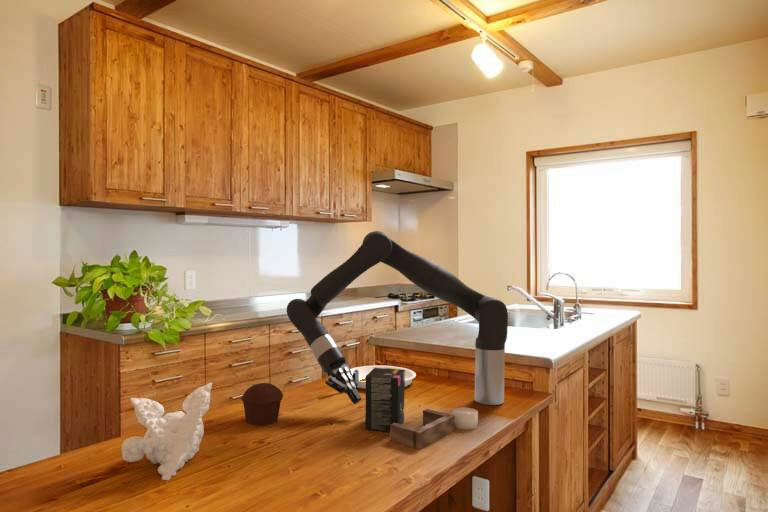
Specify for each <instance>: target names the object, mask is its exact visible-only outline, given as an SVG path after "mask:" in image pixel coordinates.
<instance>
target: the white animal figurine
mask: <svg viewBox="0 0 768 512" xmlns="http://www.w3.org/2000/svg"><path fill="white" fill-rule="evenodd" d="M212 386H213V382H208V383H207V384H205V385H202V386H200V387H197V388H196V389H193V391H192V392H191V393H189V395H187V396H186V397H185V399H184V400H183V403H182V409H183V411H182V410H177V411H175V412H167V413H166V414H165V408H164V406H163V405H162V403H159V402H158V401H156V400H153V399H150V398H146V397H145V398H144V397H140V398H138V397H131V398H129V400H130V402H131V404H132V405H133V408H134V413H135V416H136V418H137V422H138V423H139V424H140V425H142V426H144V427H145V428H146V432H145V434H144V436H143V437H142V436H138V435H136V436H130V437H129V438H126V439H125V440H123V441H122V444H121V455H122V460H124V461H126V462H129V463H134V462H139V461H140V460H141V459H143V458H144V457H145V456H146V458H147V460H148V461H149V462H150V463H151V464H154V465H157V464H159V465H160V466H158V468H157V472H158V474H160V475H161V480H162V481H170V480H171V479H172V477H174V476H176V475H177V471H178V470H180V469H182V468H183V466H184V465H185V464H186V463H187V462H189V460H192V459H193V458H194V457H195V455H196V454H197V453H198V452H199V451H200V445H201V443H202V441H203V439H202V438H203V437H204V434H205V432H204V429H205V428H204V427H205V426H204V423H203V419H202V418H203V416H204V415H205V414H207V412H208V411H209V410H210V402H211V391H212ZM185 412H186V413H185ZM162 416H163V417H162Z"/></svg>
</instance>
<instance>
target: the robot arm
mask: <svg viewBox="0 0 768 512" xmlns="http://www.w3.org/2000/svg"><path fill="white" fill-rule="evenodd" d="M379 263H382V264H385V265H386V266H388V267H391V268H392V269H394V270H396V271H397V272H399V273H400V274H401V275H402V276H404V278H406V279H407V280H409V281H410V282H411V283H413V285H415V286H417V287H418V288H420V289H421V290H423V291H424V292H427V293H428V294H430V295H432V296H434V297H436V298H438V299H440V300H442V301H444V302H446V303H448V304H451V305H453V306H456V307H457V308H459V309H460V310H462V311H464V312H465V313H466V314H468V315H469V316H471V317H472V318H473V319H475V320H476V321H477V322H478V335H477V337H476V338H475V342H474V343H475V347H474V351H475V353H474V354H475V355H474V357H475V358H474V362H475V363H474V401H475V403H478V404H480V405H485V406H499V405H502V404H504V403H505V354H506V351H505V349H506V346H505V345H506V341H507V339H508V328H509V327H508V323H509V314H508V307H507V306H506V304H505V303H504V302H503V301H502V300H501V299H498V298H494V297H492V296H489V295H486V294H483V293H481V292H479V291H478V290H475V289H472V287H469V286H468V285H467V284H465V283H464V282H463V281H462V280H461V279H460V278H458V277H457V276H456V275H454V274H453V273H452V272H450V271H449V270H447V269H445V268H444V267H442V266H440V265H439V264H437V263H435V262H433V261H432V260H429V258H428V259H427V258H426V257H423V256H421V255H419V254H416V253H415V252H413V251H410V250H408V249H406V248H405V247H403V246H402V245H400V244H399V243H398V242H396V241H395V240H393V239H392V238H391V237H390V236H388V234H386V232H383V231H379V230H374V231H371V232H369V233H367V234H366V235H365V236H364V237H363V240H362V243H361V245H360V246H359V247H358V248H357V250H355V252H354V253H353V254H352V255H351V256H350V257H349V258H348V259H346V260H345V261H344V262H343V263H342V264H341V265H339V266H337V267H336V268H335V269H333V270H332V271H330V272H329V273H328V274H326V275H325V276H324V277H322V279H321V280H319V281H318V282H317V283H316V284H315V285H314V286H313V287H312V288H311V290H310V296H309V297H308V298H307V300H304V299H301V298H295V299H291V300H290V301H289V302H288V303H287V306H286V314H287V317H288V319H289V321H290V322H291V324H292V325H293V326H294V328H296V330H297V331H298V332H299V333H300V334H301V335H302V336H303V338H304V340H305V341H306V344H307V345H308V346H309V348H310V350H311V352H312V355H313V356H314V358H315V359H316V361H317V364H318V365H319V366H320V368H321V369H322V371H323V372H324V374H326V375H327V379H326V380H325V385H326V386H328V387H330V388H332V389H334V390H335V391H336V392H338V393H340V394H343V393H344V394H346V395H347V396H348V398H349V400H350V401H351V402H352V403H353V404H354V405H356V404H359V402H361V401H362V396H361V395H360V393H359V391H358V390H357V388H356V387H357V386H358V385H359V371H358V370H357V369H356V370H355V371H354V370H351V369H352V368H351V367H350V366H349V365H348V364H347V361H346V360H347V357H345V354H344V353H343V351H342V349H340V347H339V346H338V344H337V342H336V340H335V339H334V338H333V337H332V336H331V335H330V333H329V332H328V330H327V328H326V327H325V326H324V325H323V323H322V322H321V321H320V320H318V319H317V318H318V317H319V316H320V314H321V313H322V312H323V310H324V309H325V308H326V306H327V305H328V304H329V303H330V302H331V301H333V300H334V299H335V298H337V296H339V295H340V294H342V292H343V291H344V290H345V289H346V288H348V287H349V286H350V285H351V284H352V283H353V282H354V281H355V280H356V279H357V278H359V277H360V276H361V275H362V274H364V273H365V272H366V271H368V270H369V269H371V268H373V267H375V266H376V265H378V264H379Z"/></svg>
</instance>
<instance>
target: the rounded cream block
mask: <svg viewBox="0 0 768 512" xmlns="http://www.w3.org/2000/svg"><path fill="white" fill-rule="evenodd" d="M451 415H455V429H458V428H459V429H458V430H464V429H465V430H466V431H469V430H475V429H477V428H478V426H479V411H478V410H477V409H475V408H472V407H471V408H470V407H466V406H465V407H464V406H463V407H455V408H453V409H452V414H451ZM467 429H468V430H467Z"/></svg>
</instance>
